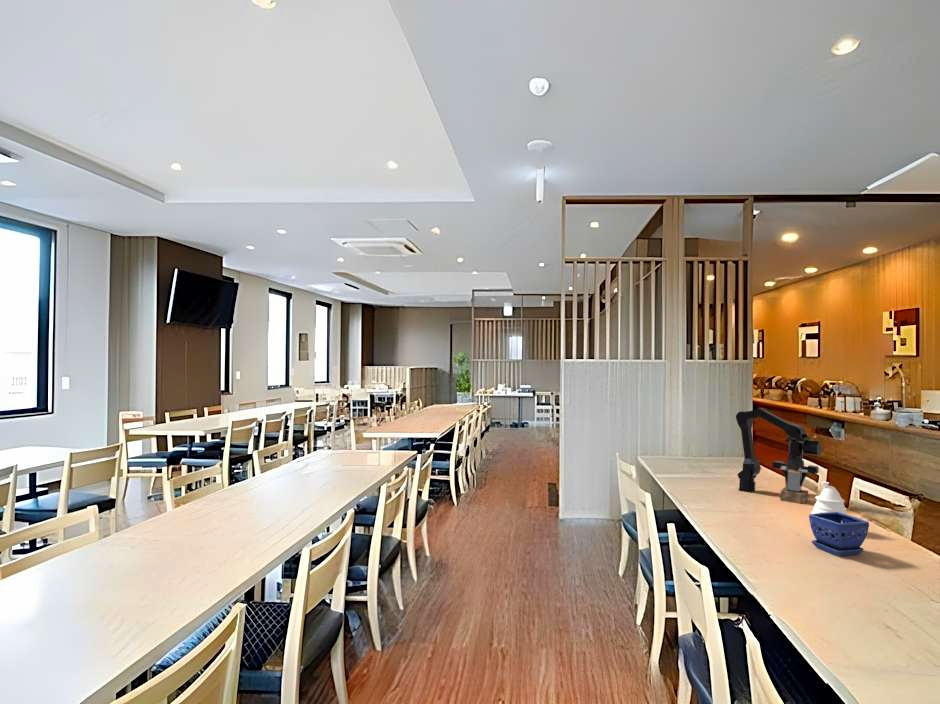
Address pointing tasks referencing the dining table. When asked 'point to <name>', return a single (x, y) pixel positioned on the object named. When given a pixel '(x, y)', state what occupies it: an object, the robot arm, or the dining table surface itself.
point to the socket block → (794, 496)
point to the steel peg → (794, 480)
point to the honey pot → (829, 501)
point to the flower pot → (838, 532)
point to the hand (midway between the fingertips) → (794, 485)
